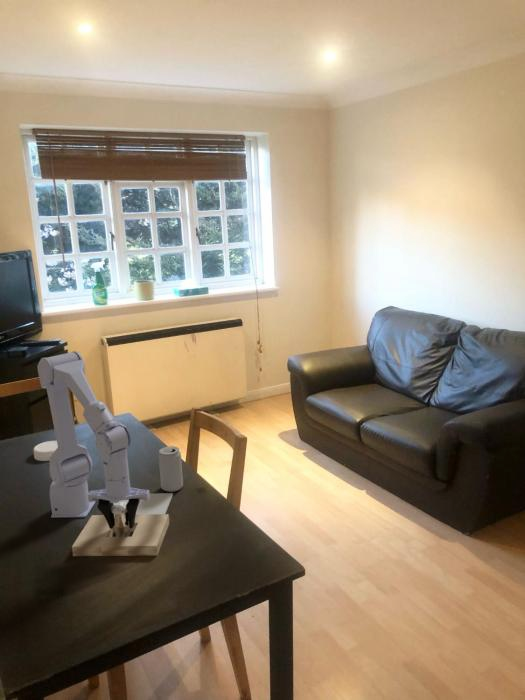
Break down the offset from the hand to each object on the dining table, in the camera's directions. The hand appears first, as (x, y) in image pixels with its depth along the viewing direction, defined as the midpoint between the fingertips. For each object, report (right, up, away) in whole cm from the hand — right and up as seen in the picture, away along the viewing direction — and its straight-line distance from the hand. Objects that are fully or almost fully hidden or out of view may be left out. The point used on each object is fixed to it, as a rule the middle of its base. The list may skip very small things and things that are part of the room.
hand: (122, 526), depth 134 cm
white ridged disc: (-38, +7, +52) cm, 65 cm away
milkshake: (0, -3, +1) cm, 4 cm away
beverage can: (+8, +3, +26) cm, 27 cm away
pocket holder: (0, -3, +1) cm, 3 cm away
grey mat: (+1, 0, +16) cm, 16 cm away
